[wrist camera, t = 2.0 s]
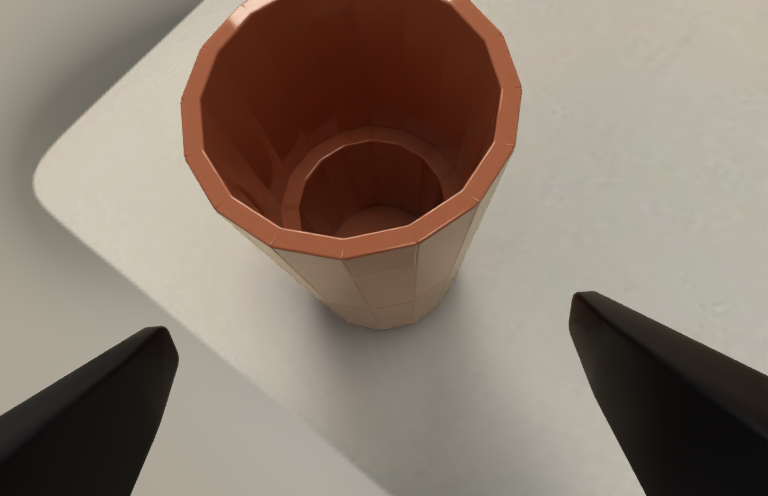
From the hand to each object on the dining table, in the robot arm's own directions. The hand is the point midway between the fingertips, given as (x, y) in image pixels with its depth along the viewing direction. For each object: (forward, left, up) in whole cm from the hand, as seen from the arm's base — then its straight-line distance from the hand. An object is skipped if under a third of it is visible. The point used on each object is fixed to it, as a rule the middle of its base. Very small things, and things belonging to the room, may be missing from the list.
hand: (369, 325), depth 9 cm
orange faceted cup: (+5, +1, -11) cm, 12 cm away
